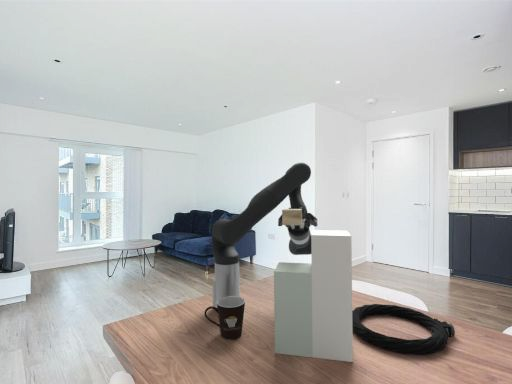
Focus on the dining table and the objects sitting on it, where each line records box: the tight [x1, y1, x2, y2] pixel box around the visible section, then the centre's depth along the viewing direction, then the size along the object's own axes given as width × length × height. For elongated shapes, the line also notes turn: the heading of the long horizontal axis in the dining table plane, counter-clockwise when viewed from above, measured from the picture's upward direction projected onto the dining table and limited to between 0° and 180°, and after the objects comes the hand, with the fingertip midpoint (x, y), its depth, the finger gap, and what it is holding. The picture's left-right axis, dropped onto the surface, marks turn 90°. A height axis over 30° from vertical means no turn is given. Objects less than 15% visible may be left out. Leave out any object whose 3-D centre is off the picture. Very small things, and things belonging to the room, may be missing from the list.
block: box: [281, 208, 302, 226], centre depth 82 cm, size 19×5×4 cm, turn 168°
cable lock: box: [352, 303, 456, 355], centre depth 86 cm, size 28×4×30 cm
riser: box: [273, 229, 354, 363], centre depth 77 cm, size 10×20×32 cm, turn 77°
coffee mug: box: [204, 296, 246, 341], centre depth 85 cm, size 12×9×10 cm
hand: (295, 210), depth 86 cm, fingers closed on block, 3 cm apart
